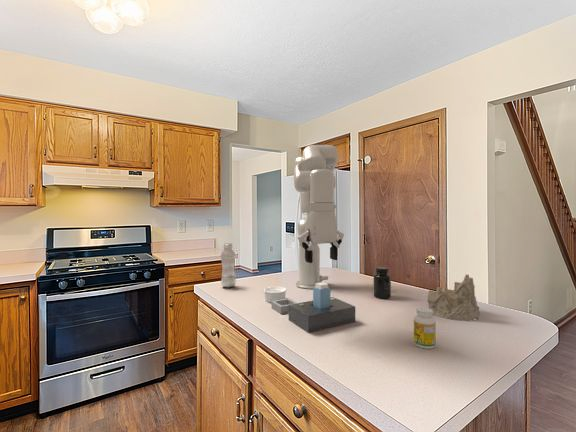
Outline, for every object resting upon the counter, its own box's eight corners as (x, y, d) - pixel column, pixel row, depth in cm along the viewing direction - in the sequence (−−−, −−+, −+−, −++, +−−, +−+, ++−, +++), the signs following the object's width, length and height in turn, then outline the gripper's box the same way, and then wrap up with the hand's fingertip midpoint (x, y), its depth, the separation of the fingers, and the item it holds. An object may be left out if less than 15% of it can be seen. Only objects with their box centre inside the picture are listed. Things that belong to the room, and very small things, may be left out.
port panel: (332, 310, 112) (332, 296, 112) (355, 321, 102) (355, 305, 101) (288, 319, 103) (288, 303, 103) (308, 332, 93) (308, 315, 93)
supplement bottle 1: (388, 294, 132) (389, 266, 132) (392, 299, 125) (392, 269, 125) (372, 294, 133) (372, 266, 132) (374, 299, 126) (375, 269, 126)
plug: (323, 317, 105) (323, 281, 105) (330, 321, 102) (330, 284, 101) (313, 320, 103) (313, 283, 103) (320, 324, 100) (320, 285, 99)
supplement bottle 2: (439, 349, 82) (439, 313, 82) (418, 349, 82) (418, 313, 82) (429, 340, 87) (430, 306, 87) (410, 340, 88) (410, 306, 87)
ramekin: (283, 304, 120) (283, 292, 120) (261, 302, 122) (261, 291, 122) (288, 297, 129) (288, 287, 129) (267, 296, 131) (267, 286, 131)
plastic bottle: (234, 288, 142) (234, 244, 141) (219, 288, 142) (219, 244, 142) (237, 285, 148) (236, 243, 148) (222, 285, 149) (222, 243, 148)
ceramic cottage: (484, 311, 111) (481, 269, 111) (472, 326, 99) (469, 278, 99) (438, 304, 122) (435, 266, 122) (422, 317, 110) (419, 274, 110)
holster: (288, 304, 119) (288, 298, 119) (298, 310, 113) (298, 303, 113) (271, 307, 116) (271, 301, 116) (280, 313, 109) (280, 306, 109)
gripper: (336, 207, 109) (335, 256, 110) (292, 208, 101) (292, 261, 102) (350, 208, 102) (349, 260, 103) (305, 209, 94) (305, 265, 95)
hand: (321, 260), depth 102 cm, fingers open, 9 cm apart
